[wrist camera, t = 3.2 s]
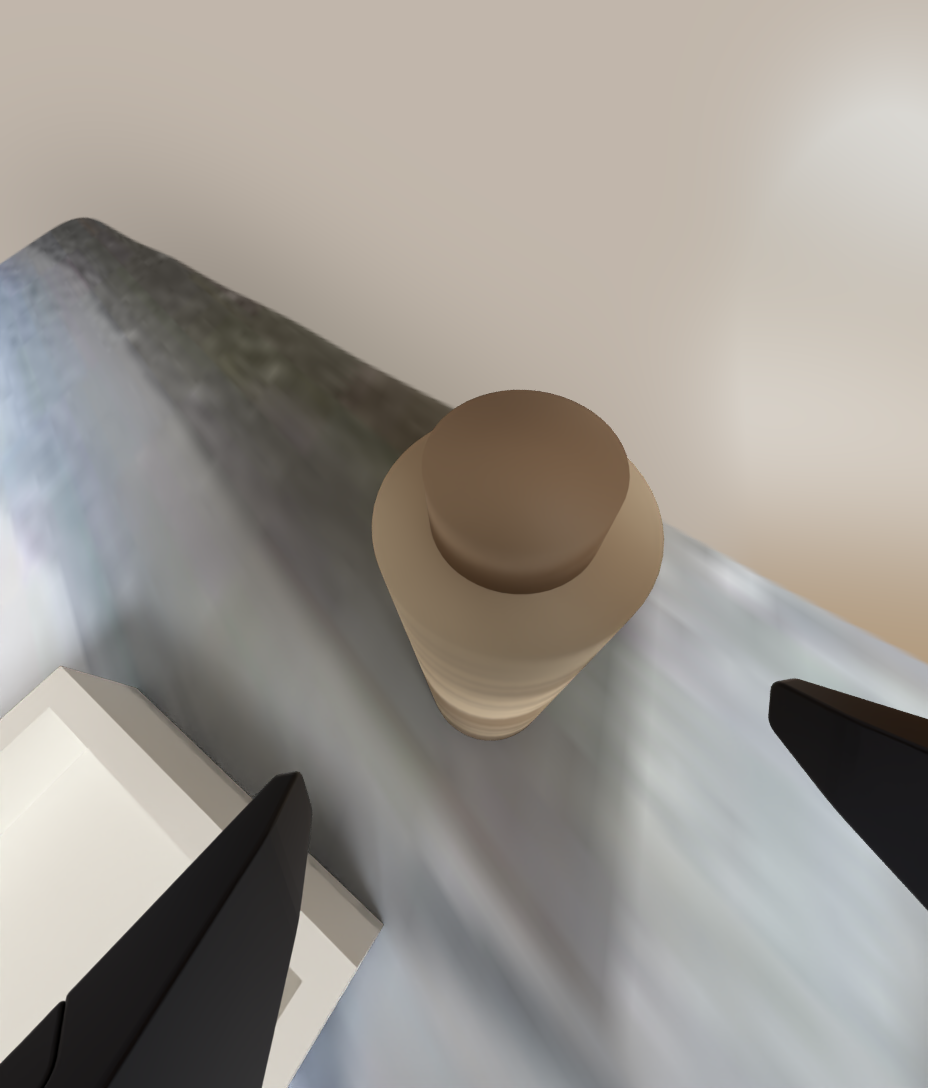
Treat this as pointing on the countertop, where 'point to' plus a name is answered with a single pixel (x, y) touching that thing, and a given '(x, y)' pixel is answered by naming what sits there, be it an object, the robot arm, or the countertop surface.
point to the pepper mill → (514, 552)
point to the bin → (131, 856)
